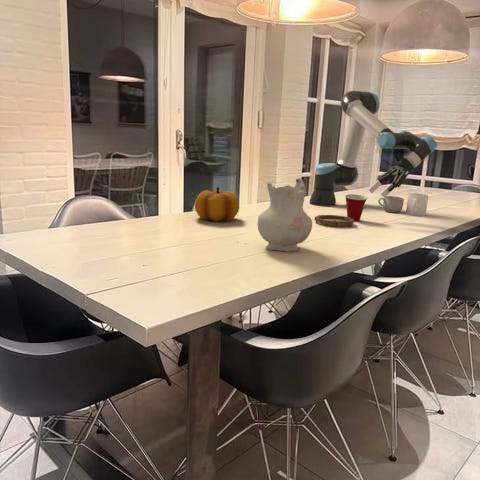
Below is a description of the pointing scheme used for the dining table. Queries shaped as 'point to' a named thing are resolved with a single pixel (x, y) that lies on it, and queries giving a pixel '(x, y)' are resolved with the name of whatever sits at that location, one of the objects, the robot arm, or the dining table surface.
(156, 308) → the dining table surface
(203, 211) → the decorative pumpkin
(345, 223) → the octagonal wooden tray
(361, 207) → the plastic cup
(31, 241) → the dining table surface
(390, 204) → the teacup
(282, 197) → the ceramic pitcher
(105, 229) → the dining table surface
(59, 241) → the dining table surface
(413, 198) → the mug
